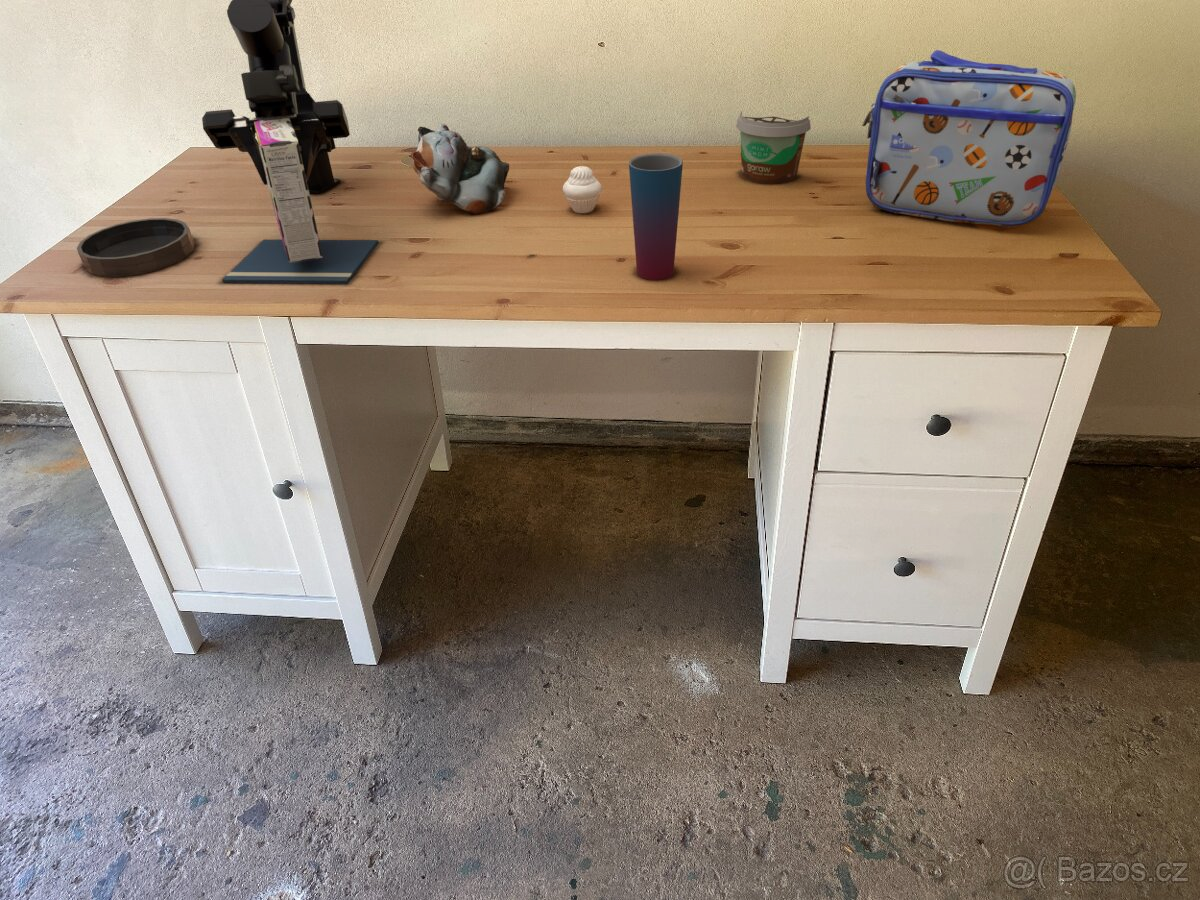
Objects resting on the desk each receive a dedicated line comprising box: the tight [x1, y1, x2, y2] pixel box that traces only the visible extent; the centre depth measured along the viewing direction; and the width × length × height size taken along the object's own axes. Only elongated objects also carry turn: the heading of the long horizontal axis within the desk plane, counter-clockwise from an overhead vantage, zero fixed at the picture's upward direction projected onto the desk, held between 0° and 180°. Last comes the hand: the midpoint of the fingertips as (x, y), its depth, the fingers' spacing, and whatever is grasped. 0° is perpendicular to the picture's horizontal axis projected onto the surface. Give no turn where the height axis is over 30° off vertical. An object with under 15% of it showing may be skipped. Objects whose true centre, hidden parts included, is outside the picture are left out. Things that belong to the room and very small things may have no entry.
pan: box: [76, 217, 195, 278], centre depth 124 cm, size 15×15×3 cm
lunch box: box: [861, 49, 1077, 227], centre depth 120 cm, size 28×10×22 cm, turn 62°
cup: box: [628, 152, 684, 281], centre depth 109 cm, size 7×7×15 cm
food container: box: [735, 110, 812, 185], centre depth 138 cm, size 12×6×10 cm, turn 68°
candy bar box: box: [254, 118, 323, 263], centre depth 115 cm, size 11×5×16 cm, turn 22°
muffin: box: [562, 165, 603, 214], centre depth 131 cm, size 6×6×7 cm
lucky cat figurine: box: [410, 123, 510, 215], centre depth 134 cm, size 15×12×14 cm
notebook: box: [221, 239, 379, 285], centre depth 120 cm, size 18×14×1 cm
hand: (285, 181), depth 116 cm, fingers closed on candy bar box, 5 cm apart
